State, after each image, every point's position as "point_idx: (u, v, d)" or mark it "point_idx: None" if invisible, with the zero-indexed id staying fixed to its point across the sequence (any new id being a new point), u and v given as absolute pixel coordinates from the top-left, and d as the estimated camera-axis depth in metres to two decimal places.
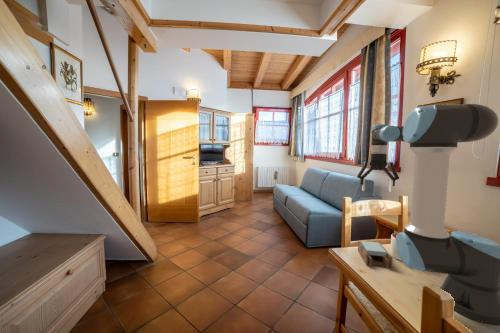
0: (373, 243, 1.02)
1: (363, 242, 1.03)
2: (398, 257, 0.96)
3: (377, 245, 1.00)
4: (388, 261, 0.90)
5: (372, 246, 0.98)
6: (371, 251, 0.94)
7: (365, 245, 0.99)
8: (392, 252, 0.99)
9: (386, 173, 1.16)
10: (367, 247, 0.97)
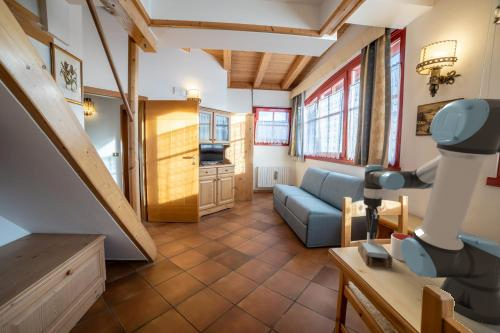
0: (374, 245, 1.00)
1: (364, 244, 1.01)
2: (398, 257, 0.96)
3: (379, 246, 0.98)
4: (388, 261, 0.90)
5: (373, 248, 0.97)
6: (373, 253, 0.93)
7: (366, 247, 0.98)
8: (392, 252, 0.99)
9: None
10: (368, 249, 0.96)
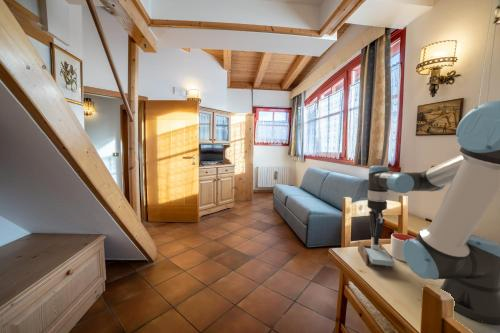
0: (379, 251, 0.94)
1: (368, 249, 0.95)
2: (398, 257, 0.96)
3: (384, 252, 0.92)
4: None
5: (378, 254, 0.91)
6: (377, 260, 0.86)
7: (370, 253, 0.92)
8: (392, 252, 0.99)
9: None
10: (373, 255, 0.90)
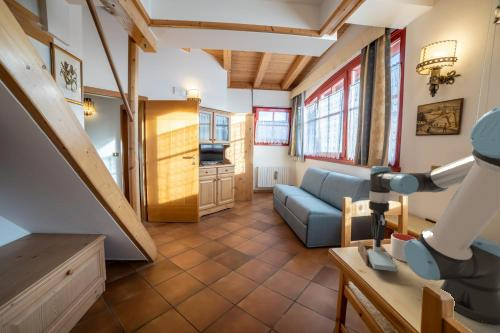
0: (381, 253, 0.91)
1: (370, 252, 0.92)
2: (398, 257, 0.96)
3: (386, 255, 0.90)
4: None
5: (380, 258, 0.88)
6: (380, 265, 0.84)
7: (372, 256, 0.89)
8: (392, 252, 0.99)
9: None
10: (375, 260, 0.87)
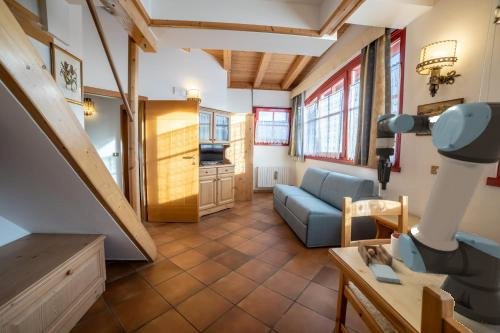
0: (383, 266, 0.89)
1: (371, 265, 0.90)
2: (398, 257, 0.96)
3: (388, 269, 0.87)
4: (388, 261, 0.90)
5: (382, 271, 0.86)
6: (382, 277, 0.81)
7: (374, 269, 0.86)
8: (392, 252, 0.99)
9: None
10: (377, 272, 0.84)
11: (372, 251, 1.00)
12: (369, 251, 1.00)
